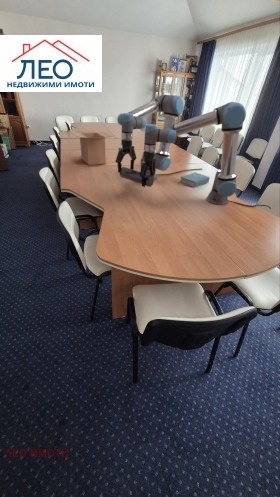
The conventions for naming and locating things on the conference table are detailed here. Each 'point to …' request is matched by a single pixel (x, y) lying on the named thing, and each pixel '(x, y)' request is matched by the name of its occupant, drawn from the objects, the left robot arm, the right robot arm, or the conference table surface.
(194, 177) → the book
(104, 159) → the box
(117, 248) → the conference table surface
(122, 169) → the rod
